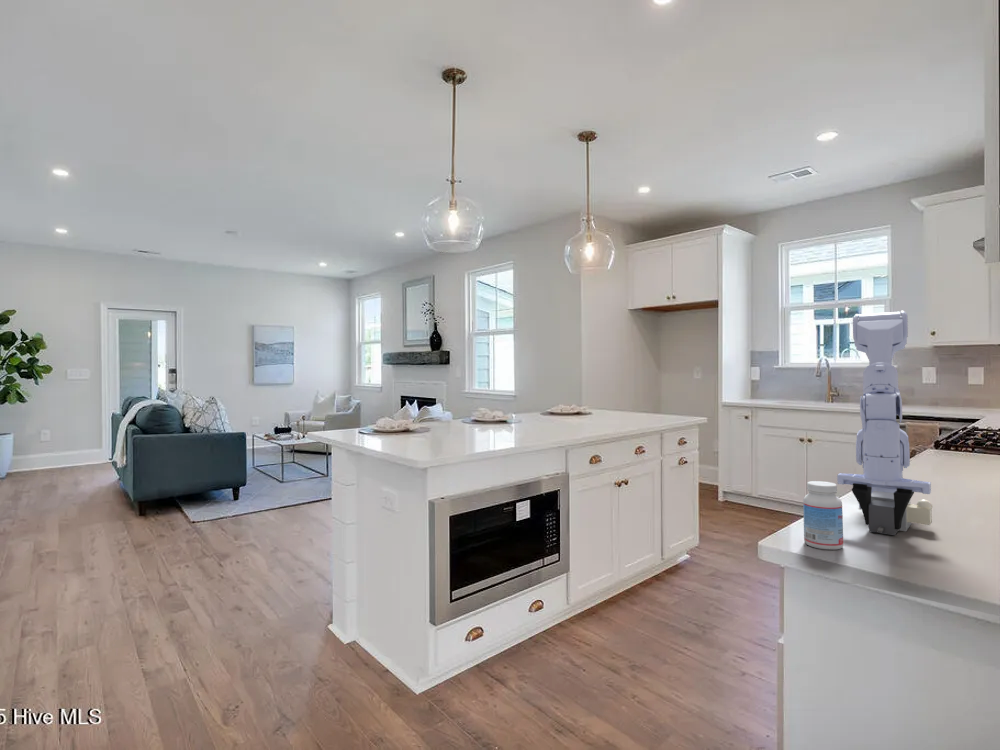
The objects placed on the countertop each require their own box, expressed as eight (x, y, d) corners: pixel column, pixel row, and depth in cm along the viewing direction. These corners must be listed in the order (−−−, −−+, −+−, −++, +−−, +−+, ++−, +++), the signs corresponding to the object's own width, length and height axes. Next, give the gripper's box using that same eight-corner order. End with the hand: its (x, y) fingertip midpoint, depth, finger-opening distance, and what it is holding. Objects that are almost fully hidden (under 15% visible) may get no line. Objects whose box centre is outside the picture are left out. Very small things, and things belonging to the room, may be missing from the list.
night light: (909, 518, 106) (909, 496, 106) (933, 522, 104) (933, 499, 104) (907, 522, 104) (906, 499, 104) (931, 525, 101) (931, 502, 101)
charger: (876, 522, 108) (876, 497, 108) (901, 526, 105) (900, 500, 105) (867, 533, 102) (866, 505, 102) (893, 537, 99) (892, 509, 99)
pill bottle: (849, 551, 93) (848, 487, 93) (811, 550, 94) (809, 486, 94) (834, 540, 99) (833, 480, 99) (799, 539, 100) (797, 479, 100)
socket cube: (875, 519, 112) (874, 490, 112) (910, 524, 107) (910, 494, 107) (868, 525, 107) (868, 495, 107) (906, 531, 103) (905, 500, 103)
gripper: (832, 454, 105) (834, 523, 105) (926, 462, 94) (928, 538, 94) (841, 450, 110) (843, 515, 110) (932, 456, 99) (933, 529, 99)
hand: (883, 525), depth 102 cm, fingers closed on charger, 4 cm apart
